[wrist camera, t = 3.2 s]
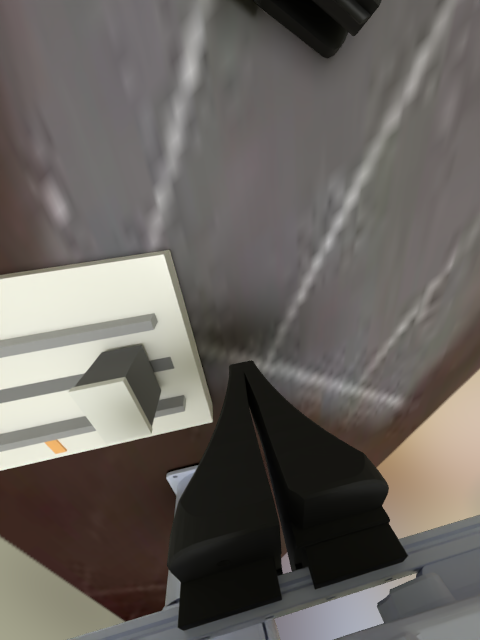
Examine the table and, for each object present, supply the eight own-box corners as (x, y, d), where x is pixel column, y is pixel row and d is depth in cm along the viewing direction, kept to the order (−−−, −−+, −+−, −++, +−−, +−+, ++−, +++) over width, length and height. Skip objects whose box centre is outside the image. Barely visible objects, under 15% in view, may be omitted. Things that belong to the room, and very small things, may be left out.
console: (169, 249, 12) (160, 257, 10) (212, 403, 19) (213, 433, 16) (-208, 306, 10) (-348, 334, 8) (-18, 453, 17) (-59, 496, 14)
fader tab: (142, 343, 12) (122, 381, 9) (162, 390, 14) (151, 433, 11) (100, 351, 12) (67, 392, 9) (126, 398, 14) (106, 443, 11)
